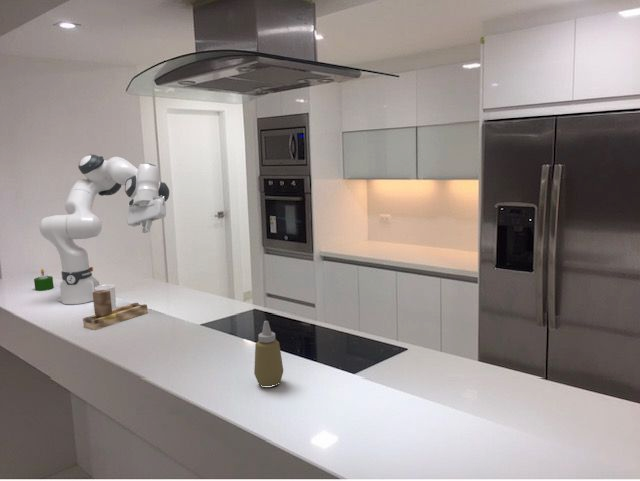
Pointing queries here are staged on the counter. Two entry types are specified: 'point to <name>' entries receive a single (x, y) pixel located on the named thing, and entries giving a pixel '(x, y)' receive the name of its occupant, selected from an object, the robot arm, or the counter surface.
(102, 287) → the white cup
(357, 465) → the counter surface
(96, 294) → the plate
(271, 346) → the squeeze bottle
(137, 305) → the beam
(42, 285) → the candle
